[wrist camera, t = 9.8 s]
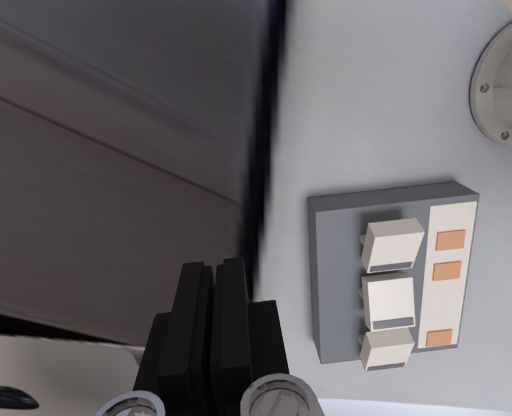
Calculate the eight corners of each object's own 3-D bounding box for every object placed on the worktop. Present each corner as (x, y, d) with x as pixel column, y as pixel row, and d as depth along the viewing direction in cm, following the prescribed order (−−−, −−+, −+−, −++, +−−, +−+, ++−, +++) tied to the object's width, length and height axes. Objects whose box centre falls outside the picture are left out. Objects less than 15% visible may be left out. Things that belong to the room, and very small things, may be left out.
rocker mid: (404, 271, 37) (413, 277, 35) (407, 318, 38) (415, 326, 36) (361, 276, 37) (367, 282, 35) (365, 323, 37) (371, 332, 36)
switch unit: (455, 181, 39) (486, 197, 34) (439, 324, 46) (462, 354, 41) (307, 197, 38) (317, 216, 34) (313, 339, 46) (323, 371, 41)
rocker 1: (416, 217, 33) (425, 232, 32) (404, 253, 36) (412, 268, 35) (368, 223, 33) (375, 238, 32) (361, 258, 36) (367, 273, 35)
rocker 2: (407, 327, 38) (415, 343, 36) (398, 350, 41) (405, 367, 40) (365, 332, 38) (371, 349, 36) (359, 355, 41) (365, 372, 39)
